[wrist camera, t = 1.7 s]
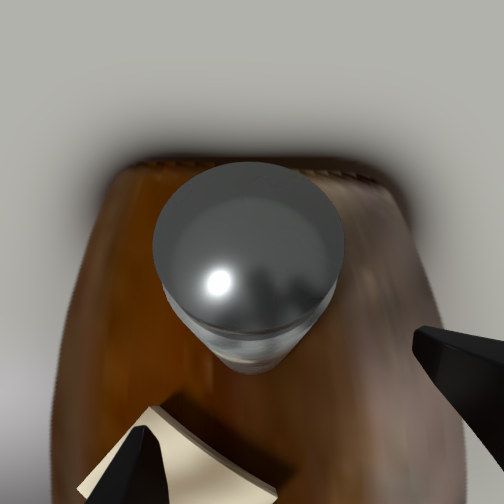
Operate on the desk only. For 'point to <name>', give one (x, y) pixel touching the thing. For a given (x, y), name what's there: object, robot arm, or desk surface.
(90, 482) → the cream square slab
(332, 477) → the desk surface
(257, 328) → the steel bottle
